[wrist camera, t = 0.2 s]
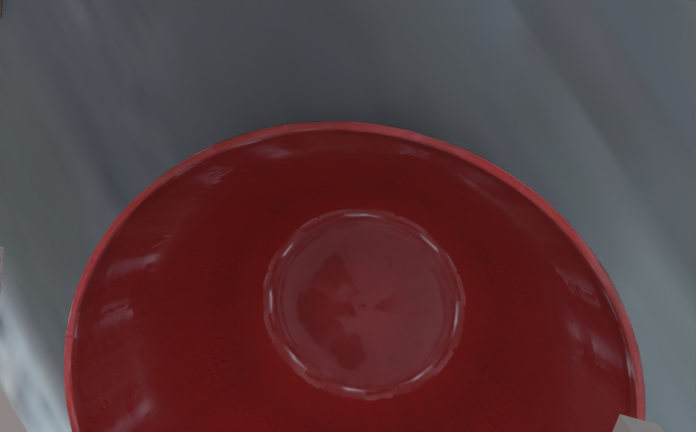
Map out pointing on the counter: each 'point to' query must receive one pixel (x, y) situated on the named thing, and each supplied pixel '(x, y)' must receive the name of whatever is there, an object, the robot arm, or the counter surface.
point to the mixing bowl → (346, 297)
